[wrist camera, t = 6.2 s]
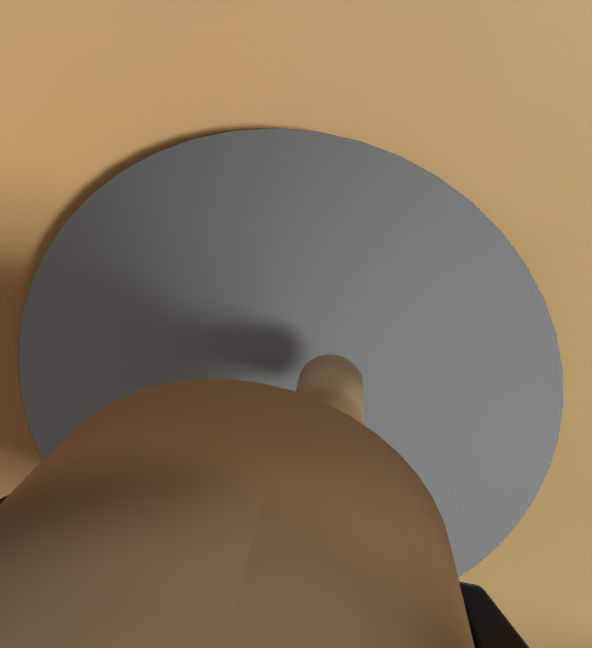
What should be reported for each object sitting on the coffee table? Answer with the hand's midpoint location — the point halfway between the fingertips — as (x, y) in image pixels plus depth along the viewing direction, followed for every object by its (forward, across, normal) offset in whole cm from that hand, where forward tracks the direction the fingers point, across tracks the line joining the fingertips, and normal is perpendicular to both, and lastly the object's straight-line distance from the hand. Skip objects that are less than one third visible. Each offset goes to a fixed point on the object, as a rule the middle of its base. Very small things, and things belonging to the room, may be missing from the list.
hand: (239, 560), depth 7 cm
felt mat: (+4, 0, 0) cm, 4 cm away
